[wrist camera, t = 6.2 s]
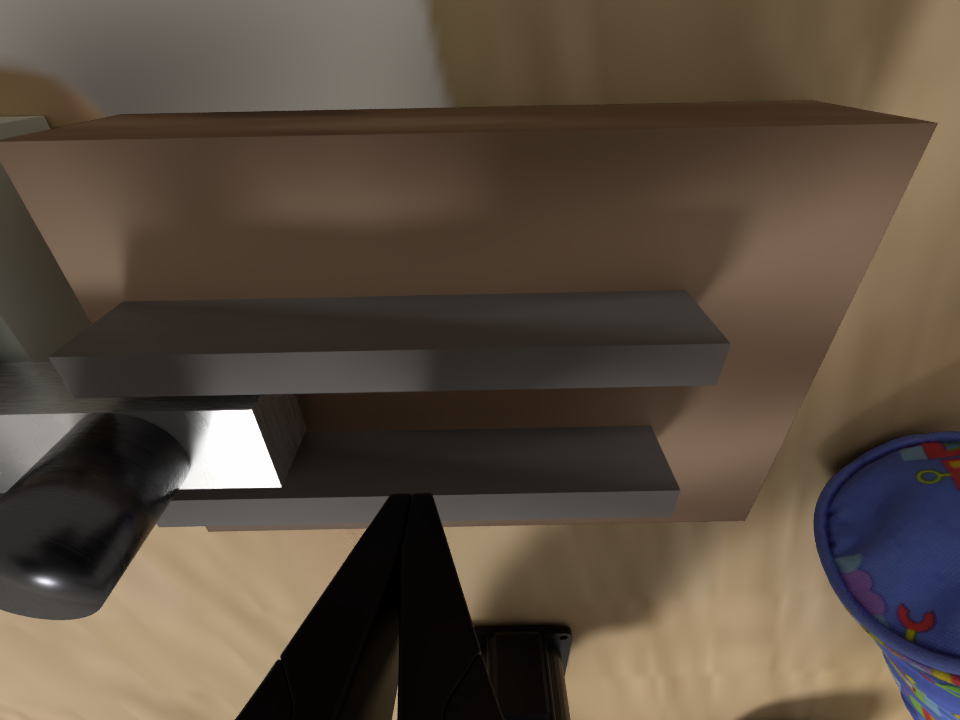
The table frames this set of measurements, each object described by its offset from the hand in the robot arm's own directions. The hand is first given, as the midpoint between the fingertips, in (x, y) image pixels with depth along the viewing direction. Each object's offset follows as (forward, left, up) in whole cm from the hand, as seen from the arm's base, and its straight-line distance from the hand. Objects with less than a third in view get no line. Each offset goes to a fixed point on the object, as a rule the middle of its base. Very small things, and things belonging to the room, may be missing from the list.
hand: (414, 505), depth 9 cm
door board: (0, -1, -8) cm, 8 cm away
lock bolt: (0, +9, -3) cm, 10 cm away
